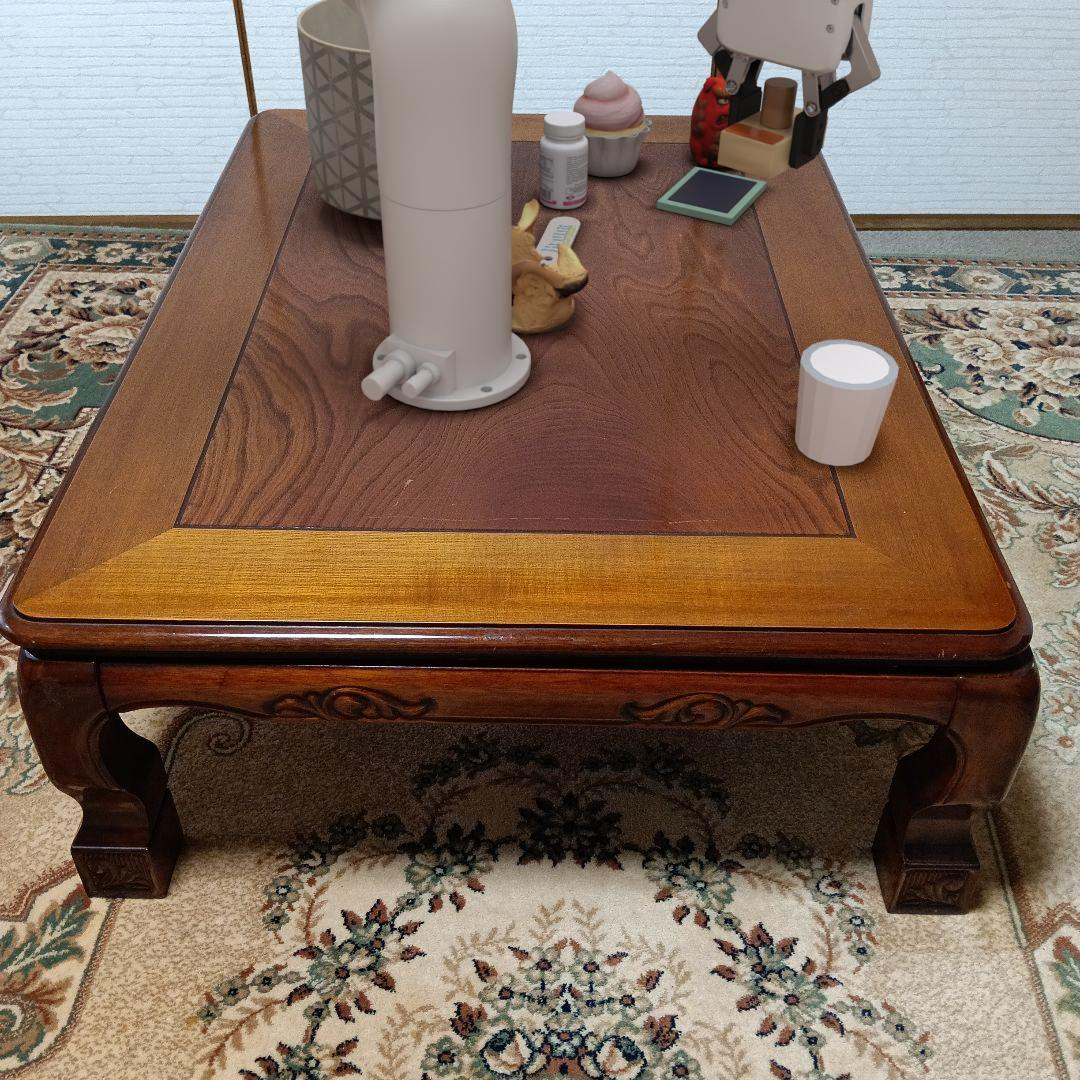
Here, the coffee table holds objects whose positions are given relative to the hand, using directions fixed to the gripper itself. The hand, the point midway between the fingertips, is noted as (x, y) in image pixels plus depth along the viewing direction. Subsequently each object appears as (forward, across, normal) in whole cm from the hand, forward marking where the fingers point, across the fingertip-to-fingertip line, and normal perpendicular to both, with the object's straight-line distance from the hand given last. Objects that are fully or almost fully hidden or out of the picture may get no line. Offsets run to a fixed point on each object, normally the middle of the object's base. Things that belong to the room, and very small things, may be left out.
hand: (771, 151), depth 91 cm
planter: (+17, +39, -1) cm, 42 cm away
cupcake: (+16, +31, -22) cm, 41 cm away
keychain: (+16, +23, -4) cm, 29 cm away
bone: (+17, +17, +8) cm, 25 cm away
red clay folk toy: (+16, +22, -31) cm, 42 cm away
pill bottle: (+16, +29, -12) cm, 35 cm away
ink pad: (+16, +18, -22) cm, 33 cm away
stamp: (0, 0, 0) cm, 0 cm away
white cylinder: (+16, -13, +9) cm, 23 cm away
